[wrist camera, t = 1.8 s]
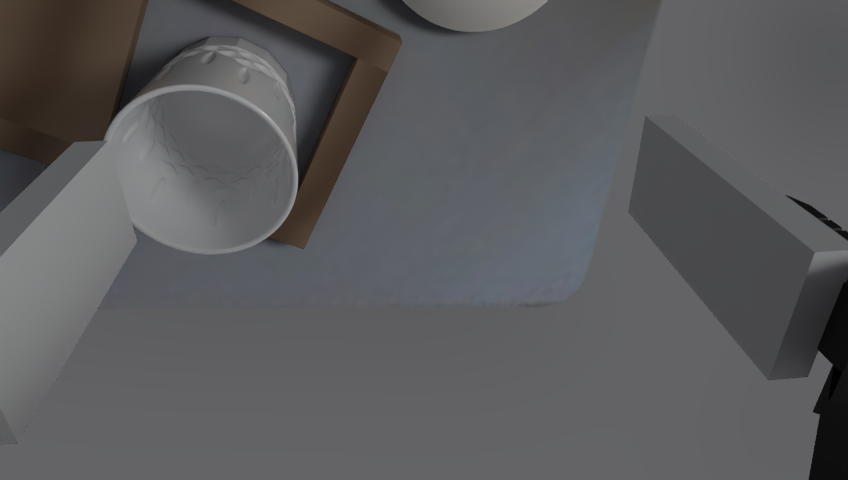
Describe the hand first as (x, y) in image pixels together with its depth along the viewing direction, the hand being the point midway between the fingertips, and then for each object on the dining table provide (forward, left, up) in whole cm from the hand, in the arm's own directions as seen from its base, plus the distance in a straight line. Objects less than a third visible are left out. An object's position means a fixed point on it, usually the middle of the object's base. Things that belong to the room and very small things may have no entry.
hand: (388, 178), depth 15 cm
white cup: (-4, -7, -21) cm, 22 cm away
